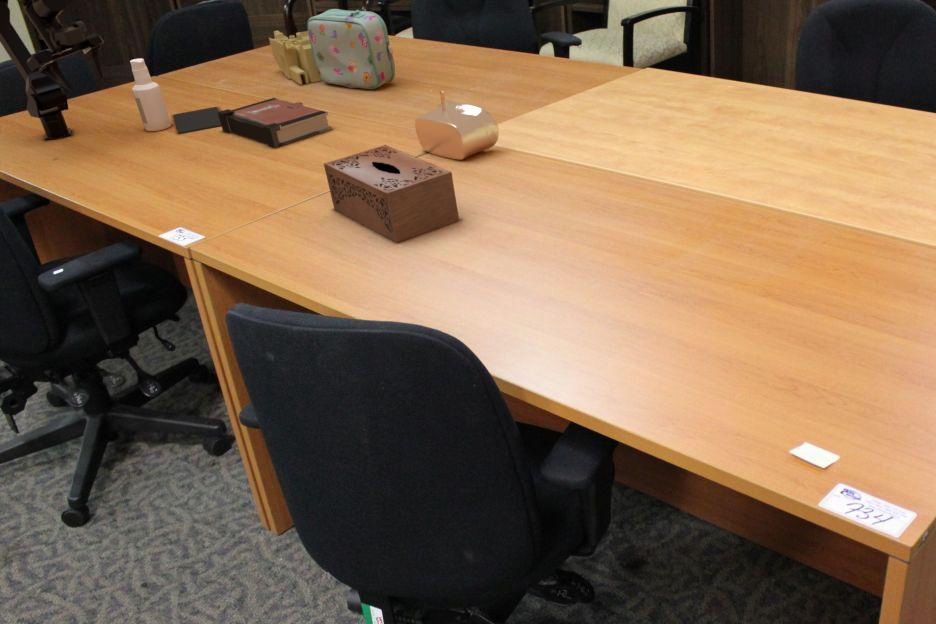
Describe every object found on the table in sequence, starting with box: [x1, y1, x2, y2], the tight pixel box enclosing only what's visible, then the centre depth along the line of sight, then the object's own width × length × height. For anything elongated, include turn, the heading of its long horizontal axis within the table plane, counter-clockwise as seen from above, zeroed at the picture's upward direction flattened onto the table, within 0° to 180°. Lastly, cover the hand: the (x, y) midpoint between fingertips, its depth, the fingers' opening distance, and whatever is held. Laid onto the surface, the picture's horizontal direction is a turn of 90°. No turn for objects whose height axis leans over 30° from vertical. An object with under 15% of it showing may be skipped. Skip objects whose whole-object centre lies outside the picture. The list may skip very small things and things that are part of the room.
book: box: [218, 97, 332, 149], centre depth 253 cm, size 26×18×5 cm
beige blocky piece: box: [268, 30, 324, 86], centre depth 301 cm, size 24×16×20 cm
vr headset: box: [414, 90, 500, 161], centre depth 226 cm, size 18×11×14 cm, turn 49°
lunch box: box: [307, 8, 396, 90], centre depth 282 cm, size 27×10×21 cm, turn 58°
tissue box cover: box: [323, 144, 460, 244], centre depth 196 cm, size 26×14×10 cm, turn 40°
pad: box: [172, 106, 222, 135], centre depth 268 cm, size 20×12×1 cm, turn 24°
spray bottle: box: [129, 58, 172, 132], centre depth 259 cm, size 7×7×18 cm
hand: (86, 84), depth 246 cm, fingers open, 9 cm apart
